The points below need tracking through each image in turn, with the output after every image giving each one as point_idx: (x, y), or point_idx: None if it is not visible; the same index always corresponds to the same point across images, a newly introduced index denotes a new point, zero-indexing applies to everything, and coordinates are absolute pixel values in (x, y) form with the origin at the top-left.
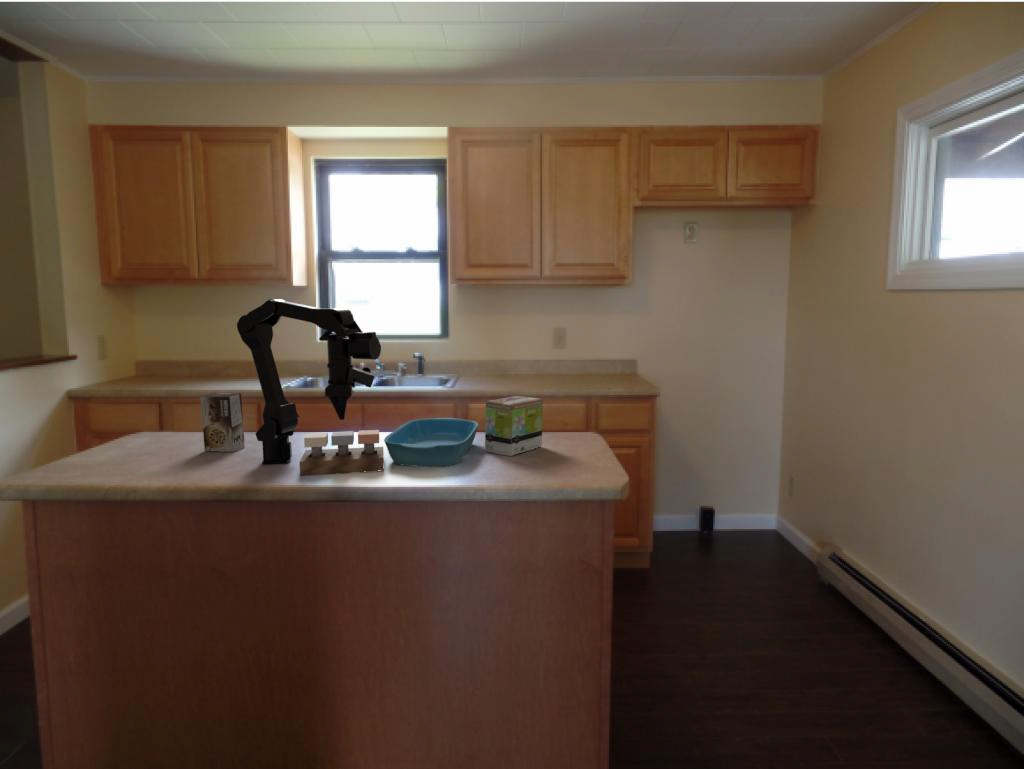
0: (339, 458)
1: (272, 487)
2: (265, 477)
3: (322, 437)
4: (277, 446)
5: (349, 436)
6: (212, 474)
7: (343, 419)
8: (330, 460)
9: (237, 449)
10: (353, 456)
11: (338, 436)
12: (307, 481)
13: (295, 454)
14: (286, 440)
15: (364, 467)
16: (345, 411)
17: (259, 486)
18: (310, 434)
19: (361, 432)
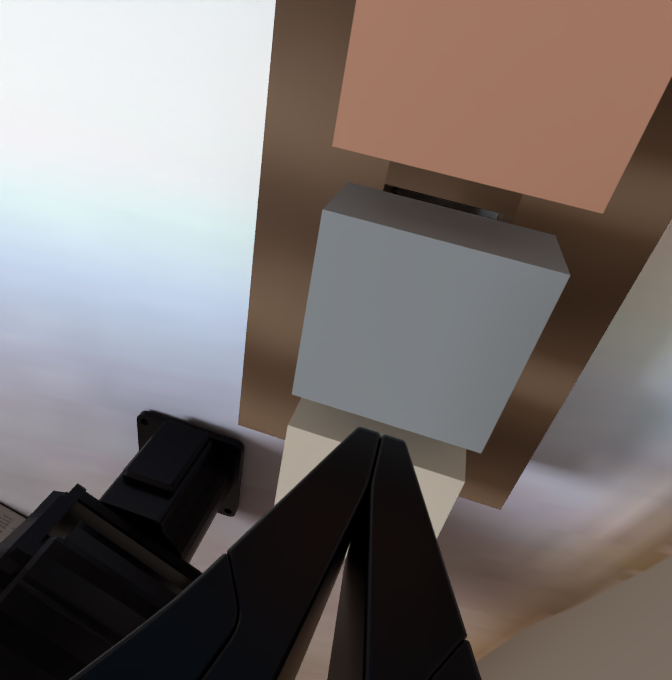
0: (563, 316)
1: (627, 567)
2: (443, 545)
3: (455, 498)
4: (198, 529)
5: (552, 302)
6: (318, 625)
7: (405, 447)
8: (576, 376)
9: (20, 518)
10: (569, 206)
11: (507, 400)
12: (634, 452)
13: (89, 380)
14: (165, 517)
15: None
16: (384, 523)
17: (573, 589)
18: None
19: (468, 133)
